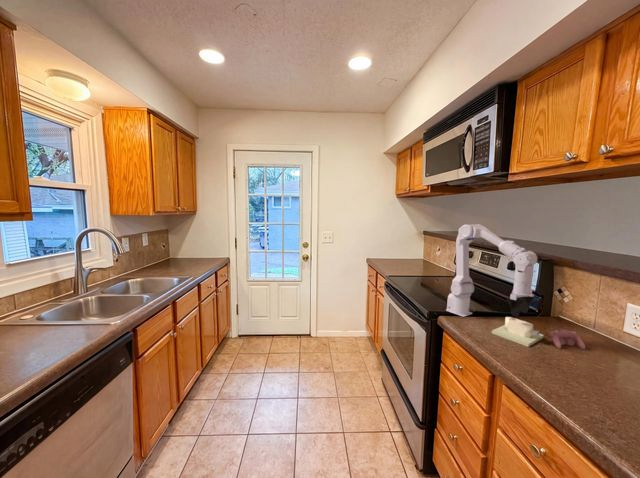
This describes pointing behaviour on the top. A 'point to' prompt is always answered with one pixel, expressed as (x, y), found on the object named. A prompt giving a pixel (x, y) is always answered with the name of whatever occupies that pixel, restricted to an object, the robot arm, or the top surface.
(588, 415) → the top surface
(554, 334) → the pink toy car
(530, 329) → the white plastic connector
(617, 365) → the top surface
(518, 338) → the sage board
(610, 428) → the top surface
